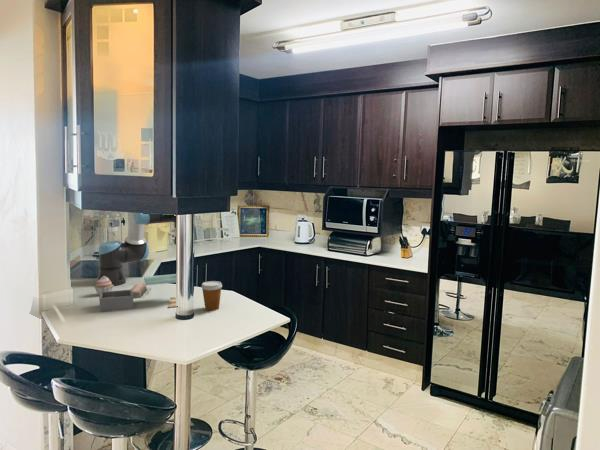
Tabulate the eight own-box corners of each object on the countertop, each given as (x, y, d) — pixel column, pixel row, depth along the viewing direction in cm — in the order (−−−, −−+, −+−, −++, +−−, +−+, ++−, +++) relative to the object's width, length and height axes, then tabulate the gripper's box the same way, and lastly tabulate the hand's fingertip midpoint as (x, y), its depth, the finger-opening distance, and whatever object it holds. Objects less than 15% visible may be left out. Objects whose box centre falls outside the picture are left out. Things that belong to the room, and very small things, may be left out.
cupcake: (95, 298, 225) (94, 278, 224) (93, 294, 234) (92, 275, 232) (115, 296, 230) (114, 276, 229) (113, 291, 238) (112, 273, 237)
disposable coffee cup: (216, 312, 204) (215, 286, 203) (197, 310, 207) (197, 284, 206) (226, 306, 213) (225, 281, 212) (208, 304, 216) (207, 280, 215)
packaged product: (143, 291, 223) (122, 291, 222) (144, 300, 224) (123, 301, 223) (151, 282, 241) (131, 282, 240) (151, 291, 241) (132, 291, 240)
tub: (101, 306, 212) (100, 292, 211) (132, 303, 217) (132, 289, 216) (100, 314, 201) (99, 299, 200) (133, 310, 206) (133, 295, 205)
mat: (141, 301, 221) (141, 300, 221) (179, 297, 228) (179, 296, 228) (143, 310, 207) (143, 309, 207) (183, 306, 213) (183, 305, 213)
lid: (144, 279, 219) (143, 268, 219) (186, 275, 226) (186, 265, 226) (145, 285, 207) (145, 274, 207) (190, 281, 214) (189, 271, 214)
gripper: (172, 234, 224) (174, 280, 226) (176, 238, 208) (178, 288, 211) (188, 233, 226) (189, 279, 229) (193, 237, 211) (194, 287, 214)
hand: (184, 283), depth 220 cm, fingers closed on lid, 3 cm apart
